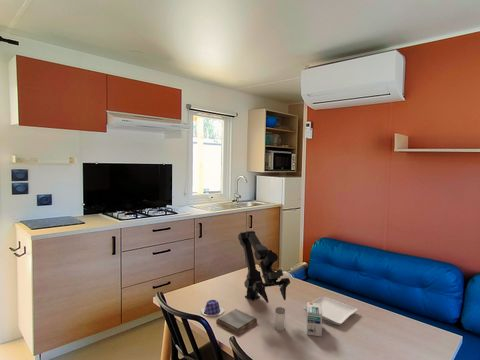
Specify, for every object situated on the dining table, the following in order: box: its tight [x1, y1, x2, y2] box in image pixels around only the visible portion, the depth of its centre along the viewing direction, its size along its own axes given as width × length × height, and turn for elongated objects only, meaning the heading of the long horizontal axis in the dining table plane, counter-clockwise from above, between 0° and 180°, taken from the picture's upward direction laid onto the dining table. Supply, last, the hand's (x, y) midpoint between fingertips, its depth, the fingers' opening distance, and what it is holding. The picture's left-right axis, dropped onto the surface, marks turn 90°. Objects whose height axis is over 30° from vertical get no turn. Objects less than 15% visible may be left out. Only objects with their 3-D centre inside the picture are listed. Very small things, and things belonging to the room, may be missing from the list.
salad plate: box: [302, 295, 359, 326], centre depth 161 cm, size 21×21×3 cm
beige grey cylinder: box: [274, 306, 286, 331], centre depth 146 cm, size 4×4×9 cm
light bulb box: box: [306, 301, 323, 337], centre depth 145 cm, size 11×7×11 cm, turn 168°
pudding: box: [200, 299, 225, 317], centre depth 160 cm, size 12×12×5 cm
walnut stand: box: [215, 308, 258, 336], centre depth 149 cm, size 14×14×2 cm
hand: (276, 301), depth 149 cm, fingers open, 9 cm apart
